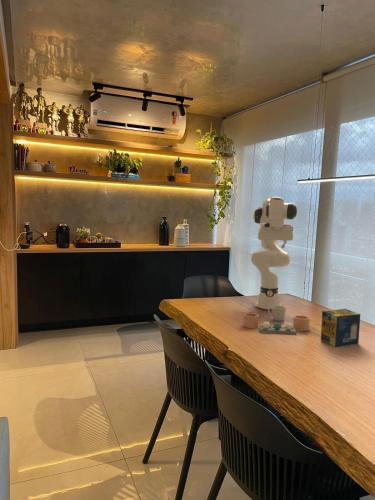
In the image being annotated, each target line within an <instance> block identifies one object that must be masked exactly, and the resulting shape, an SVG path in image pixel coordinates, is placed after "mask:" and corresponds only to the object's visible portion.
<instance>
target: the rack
mask: <svg viewBox="0 0 375 500" xmlns="http://www.w3.org/2000/svg"><path fill="white" fill-rule="evenodd" d="M258 329H259V333H263V334H278V335H279V334H282V335H283V334H284V335H297V330H295V328H294V327H293V326H292V329H291V330H287V329H286V328H285V326H281V328H280V329H278V330H277V329H275V328H274V325H270V327H269V328H268V329H265V328H263V325H259V327H258Z"/></svg>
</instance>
